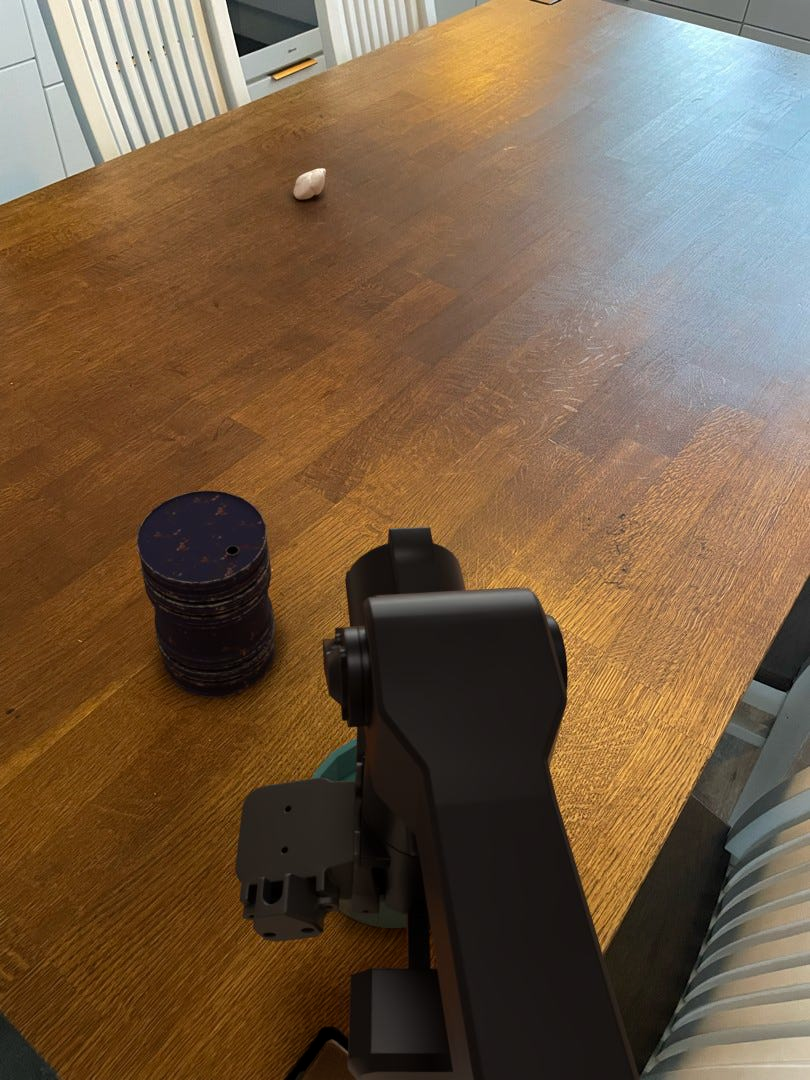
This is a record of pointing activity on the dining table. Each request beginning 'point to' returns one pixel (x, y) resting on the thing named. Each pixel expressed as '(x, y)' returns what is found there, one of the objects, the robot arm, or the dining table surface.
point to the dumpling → (310, 184)
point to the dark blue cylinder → (209, 591)
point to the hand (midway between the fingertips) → (404, 923)
